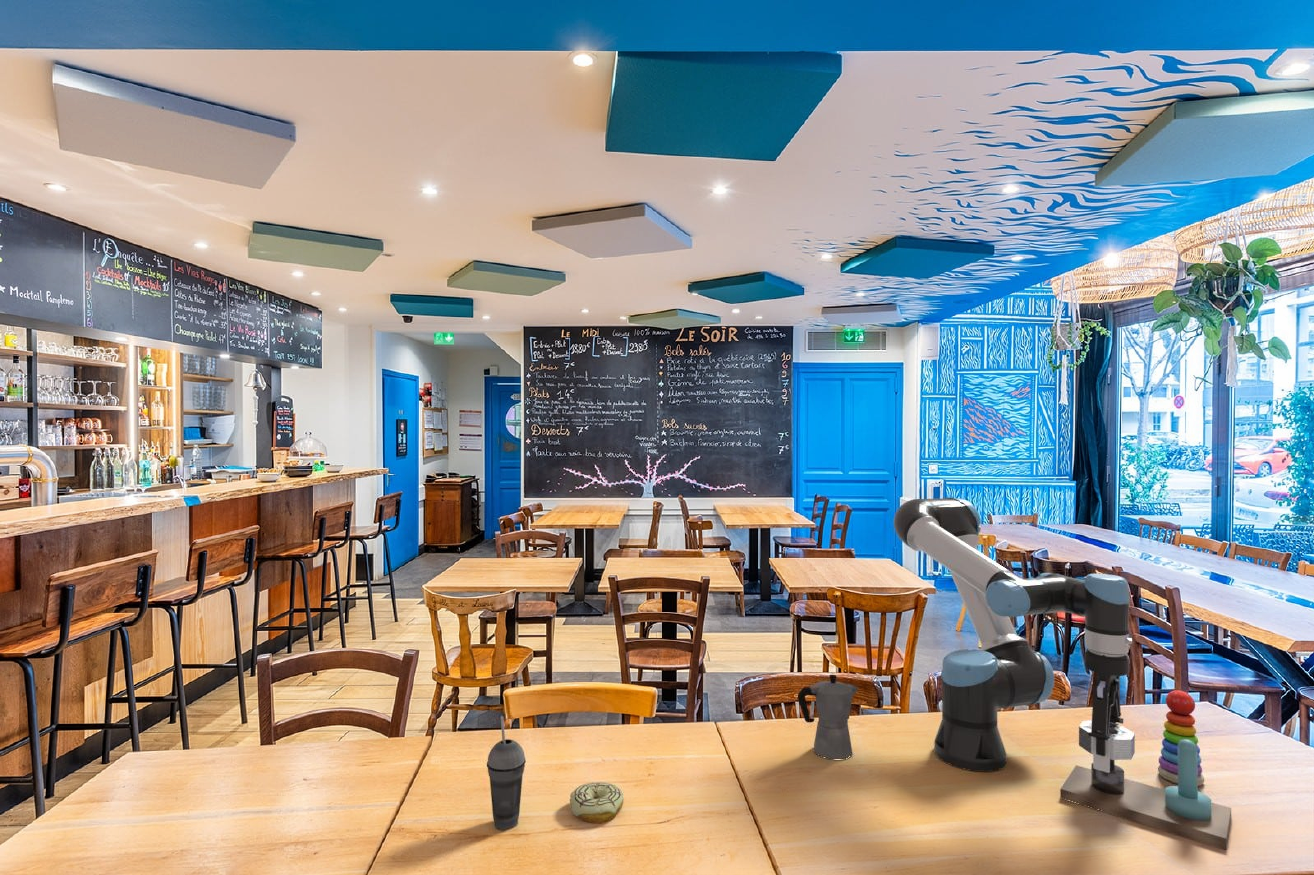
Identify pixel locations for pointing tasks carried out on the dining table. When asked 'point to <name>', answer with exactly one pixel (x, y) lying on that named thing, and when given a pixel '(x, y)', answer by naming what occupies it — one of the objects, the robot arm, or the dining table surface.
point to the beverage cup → (506, 781)
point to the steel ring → (1119, 741)
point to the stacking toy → (1177, 734)
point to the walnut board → (1147, 808)
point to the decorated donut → (596, 802)
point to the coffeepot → (830, 717)
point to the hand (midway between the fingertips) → (1106, 761)
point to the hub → (1188, 787)
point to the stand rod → (1108, 779)
